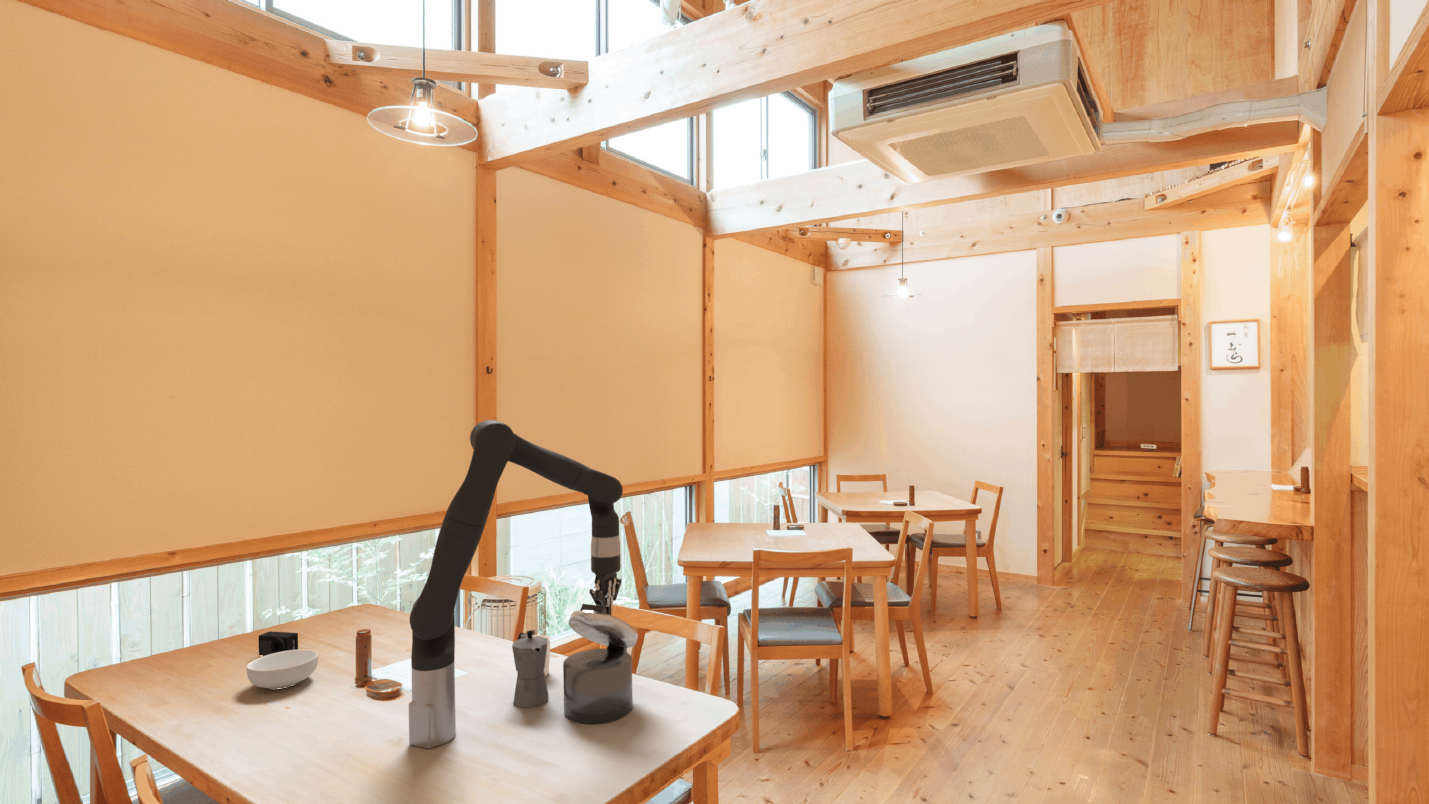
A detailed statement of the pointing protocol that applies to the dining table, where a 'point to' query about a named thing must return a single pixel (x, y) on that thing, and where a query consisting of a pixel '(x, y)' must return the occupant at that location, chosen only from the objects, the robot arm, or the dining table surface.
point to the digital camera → (277, 642)
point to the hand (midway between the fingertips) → (606, 619)
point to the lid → (602, 627)
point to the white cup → (546, 668)
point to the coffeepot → (530, 670)
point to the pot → (598, 685)
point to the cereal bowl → (282, 668)
